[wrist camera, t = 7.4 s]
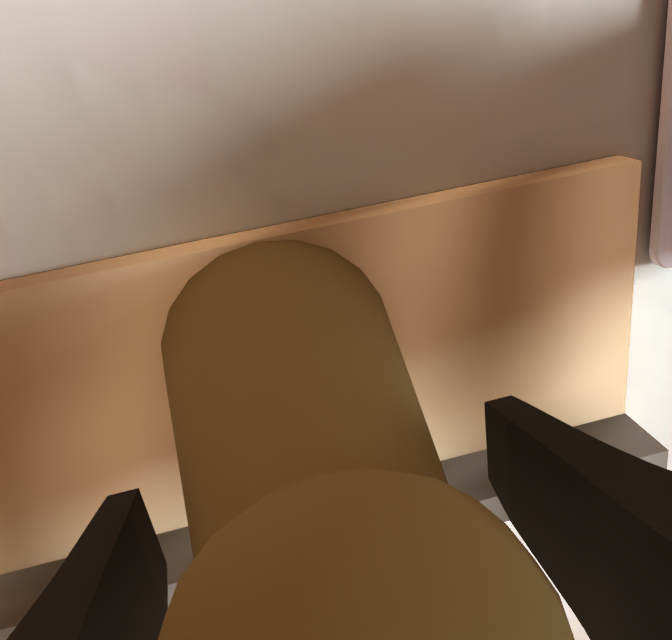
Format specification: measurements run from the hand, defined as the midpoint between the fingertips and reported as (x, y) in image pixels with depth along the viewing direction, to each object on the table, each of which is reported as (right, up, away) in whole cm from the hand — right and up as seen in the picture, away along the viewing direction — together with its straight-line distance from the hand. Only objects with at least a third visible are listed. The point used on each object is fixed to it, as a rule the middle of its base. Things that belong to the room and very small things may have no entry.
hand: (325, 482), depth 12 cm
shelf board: (-1, +2, +5) cm, 5 cm away
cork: (-1, +3, +4) cm, 5 cm away
